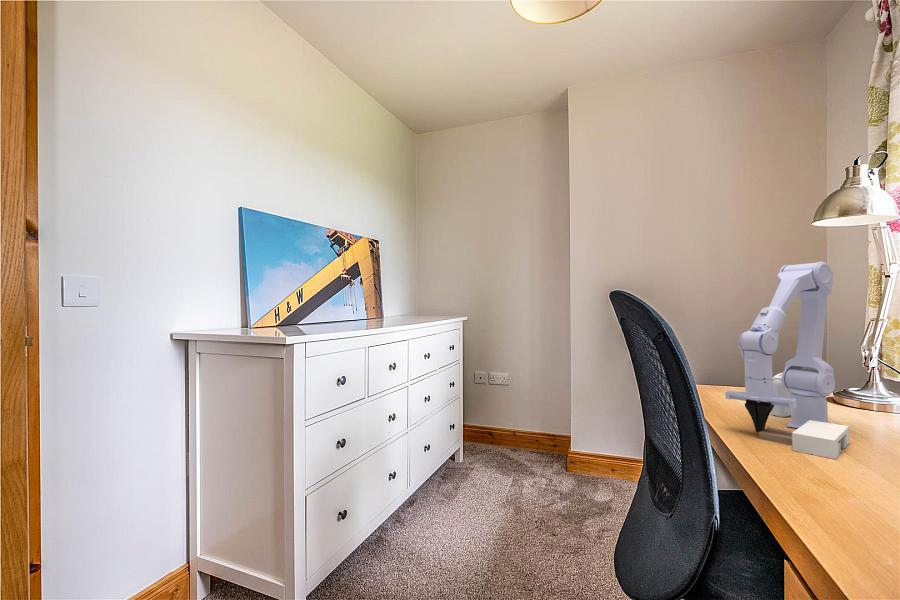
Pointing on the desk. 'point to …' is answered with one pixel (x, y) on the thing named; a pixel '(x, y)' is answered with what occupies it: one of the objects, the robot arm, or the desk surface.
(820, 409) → the robot arm
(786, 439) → the walnut panel
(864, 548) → the desk surface
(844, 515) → the desk surface
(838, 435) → the white shelf
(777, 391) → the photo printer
